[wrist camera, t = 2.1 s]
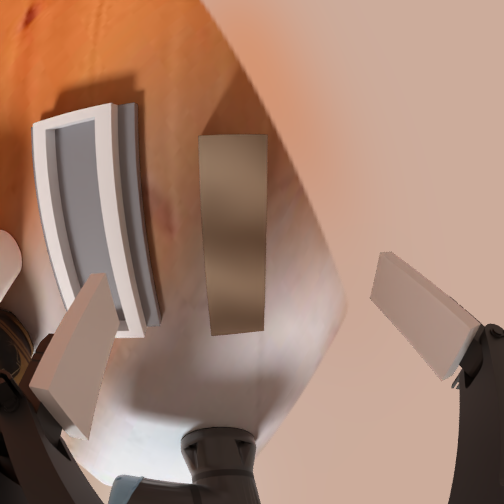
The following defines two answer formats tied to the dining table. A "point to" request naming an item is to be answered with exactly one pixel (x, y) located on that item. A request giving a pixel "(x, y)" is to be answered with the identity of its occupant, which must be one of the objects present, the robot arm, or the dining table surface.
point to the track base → (96, 208)
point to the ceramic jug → (14, 346)
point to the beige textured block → (234, 229)
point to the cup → (8, 262)
